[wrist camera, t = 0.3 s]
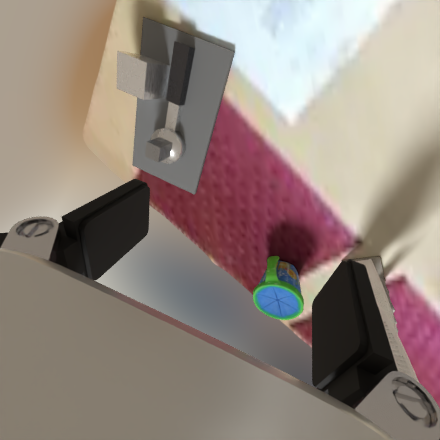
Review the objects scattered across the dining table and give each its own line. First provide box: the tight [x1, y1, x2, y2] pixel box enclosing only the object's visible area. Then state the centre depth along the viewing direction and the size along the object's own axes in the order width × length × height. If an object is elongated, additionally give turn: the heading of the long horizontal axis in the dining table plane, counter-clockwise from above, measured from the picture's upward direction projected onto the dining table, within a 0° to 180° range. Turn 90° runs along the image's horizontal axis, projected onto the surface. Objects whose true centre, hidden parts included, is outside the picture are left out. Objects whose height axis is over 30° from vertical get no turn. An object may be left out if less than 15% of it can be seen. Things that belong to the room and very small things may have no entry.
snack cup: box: [253, 256, 304, 320], centre depth 52 cm, size 16×10×10 cm
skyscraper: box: [343, 256, 419, 382], centre depth 37 cm, size 8×8×28 cm
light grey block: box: [117, 51, 170, 100], centre depth 39 cm, size 5×5×7 cm
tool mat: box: [133, 17, 235, 194], centre depth 46 cm, size 28×17×1 cm, turn 162°
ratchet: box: [145, 41, 195, 164], centre depth 41 cm, size 21×7×7 cm, turn 162°
